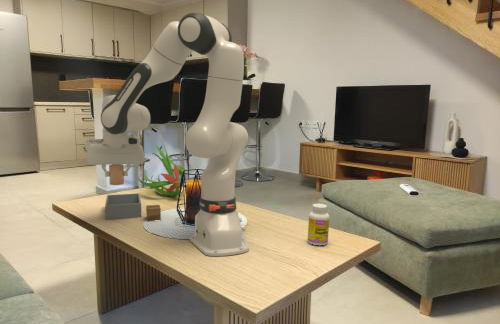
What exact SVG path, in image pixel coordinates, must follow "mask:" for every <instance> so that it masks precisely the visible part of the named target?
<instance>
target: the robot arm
mask: <svg viewBox="0 0 500 324" xmlns="http://www.w3.org/2000/svg"><path fill="white" fill-rule="evenodd" d="M243 50H244V49H243V48H242V47H241V45H239V44H238V43H235V42H233V36H232V33H231V31H230V29H229V28H228V27H227V26H226V24H224V23H222V22H220V21H218V20H217V19H216V18H214V17H212V16H209V15H205V14H204V13H201V12H190V13H187V14H185V15H184V16H182V18H180V21H177V20H176V21H171V22H169V23H168V24H167V25H166V27H165V28H164V29H163V30H162V31H161V33H160V34H159V36H158V37H157V39H156V41H155V43H154V44H153V46H152V48H151V49H150V51H149V53H148V54H147V55H146V57H145V58H144V59H143V60H142V61H141V62H140V63H139V64H138V65H137V66H136V67H134V68H133V70H132V71H131V73H130V74H129V75H128V77H127V78H126V79H125V81H124V82H123V84H122V85H121V87H120V89H119V90H118V91H117V93H115V94H108V95H105V96H104V97H103V99H102V105H101V106H102V107H101V113H100V123H101V125H102V138H98V139H97V138H96V139H94V138H89V139H88V140H86V141H85V143H84V148H85V151H86V159H85V160H86V163H87V165H88V166H97V165H99V166H101V169H102V170H103V172H104V176H105V177H109V176H110V175H109V170H107V169H106V168H107V165H108V166H109V165H112V164H122V165H126V169H125V170H124V177H128V175H129V173H128V172H129V170H130V169H131V166H132V165H143V164H144V163H145V152H144V147H143V146H142V145H141V142H142V141H141V140H142V139H141V138H140V137H138V136H135V135H133V134H129V133H134V132H141V131H142V132H143V131H144V130H147V129H148V128H149V126H150V125H151V122H152V121H151V120H152V117H151V113H150V110H149V109H148V107H147V106H145V105H142V104H139V103H137V101H138V99H139V98H140V96H141V95H142V94H143V93H144V91H146V90H147V89H149V88H151V87H153V86H155V85H157V84H162V83H166V82H169V81H172V80H174V78H175V77H176V76H177V75H178V74H179V73H180V72H181V70H182V68H183V66H184V64H185V63H186V61H187V59H188V57H189V56H190V54H192V53H193V52H195V53H197V54H200V55H201V56H205V57H206V59H208V74H207V81H206V82H207V83H206V89H205V90H206V91H205V97H204V102H203V106H202V109H200V110H201V111H200V113H199V115H198V117H197V119H196V121H195V122H194V123H193V125H192V126H191V127H189V129H188V130H187V131H186V134H185V136H184V143H185V144H184V145H185V147H186V150H187V151H188V153H189V154H190V155H192V156H193V157H195V158H203V159H209V161H208V164H207V166H206V167H205V169H204V170H203V171H202V173H201V177H200V179H201V180H200V181H201V183H200V187H201V189H200V192H201V193H200V194H201V195H200V197H199V209H200V210H199V211H198V212H197V213H196V214H195V217H194V234H193V235H191V236H189V241H190V242H191V243H192V244H193V245H194V246H195V247H196V248H198V249H199V250H200V251H201V253H202V254H204V255H205V256H211V257H225V256H226V257H227V256H232V255H239V254H240V255H241V254H244V253H247V252H249V251H250V247H249V244H248V241H247V238H246V234H245V232H246V225H245V224H241V223H242V221H243V219H242V218H241V217H240V216H239V211H238V210H237V200H236V196H235V189H236V188H235V187H236V185H235V184H236V173H237V172H236V171H237V167H238V164H239V162H240V161H239V160H240V158H241V155H242V152H243V151H244V149H245V148H246V147H247V146H248V143H249V134H248V131H247V129H246V128H245V127H244V126H243V125H241V124H240V123H237V122H232V121H231V119H232V117H233V115H234V113H235V112H236V111H237V110H238V109H239V107H240V105H241V100H242V97H241V96H242V91H243V84H244V83H243V82H244V73H245V58H244V57H245V56H244V51H243Z"/></svg>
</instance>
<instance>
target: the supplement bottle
mask: <svg viewBox="0 0 500 324" xmlns="http://www.w3.org/2000/svg"><path fill="white" fill-rule="evenodd" d="M327 210H328V205H327V204H324V203H313V204H312V211H310V212H309V214H308V227H307V228H308V229H307V242H308V243H309V244H310V245H312V244H313V246H315V245H324V246H326V245H328V242H329V232H330V231H329V229H330V214H329V213H328V212H327ZM325 244H326V245H325Z"/></svg>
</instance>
